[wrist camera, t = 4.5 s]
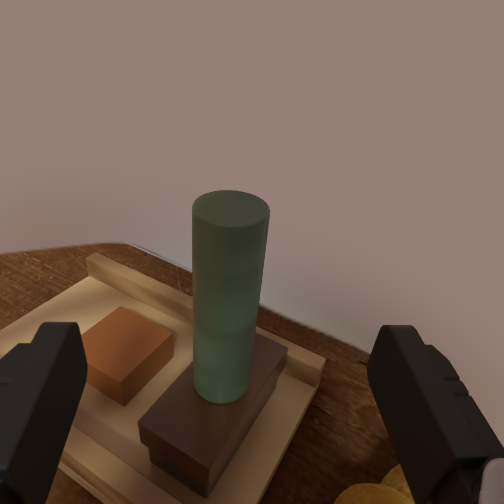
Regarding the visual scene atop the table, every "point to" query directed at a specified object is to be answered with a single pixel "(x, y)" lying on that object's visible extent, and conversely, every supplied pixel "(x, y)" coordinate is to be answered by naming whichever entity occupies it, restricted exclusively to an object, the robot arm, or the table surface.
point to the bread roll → (379, 491)
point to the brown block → (125, 353)
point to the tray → (126, 417)
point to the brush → (218, 347)
